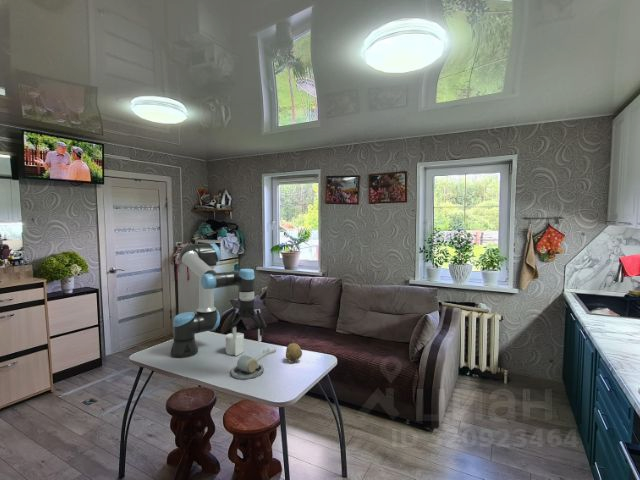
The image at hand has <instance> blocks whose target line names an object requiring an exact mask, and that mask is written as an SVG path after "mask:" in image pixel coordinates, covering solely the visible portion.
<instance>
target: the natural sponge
mask: <svg viewBox="0 0 640 480" xmlns="http://www.w3.org/2000/svg"><path fill="white" fill-rule="evenodd" d="M302 357H303V350H302V349H301V346H300V345H299V344H297V343H296V342H293V343H292V342H291V343H289V344H288V345H287V347H286V349H285V359H286V360H288V361H290V362H295V361H297V360H299V359H300V358H302Z"/></svg>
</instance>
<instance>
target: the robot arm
mask: <svg viewBox="0 0 640 480" xmlns="http://www.w3.org/2000/svg"><path fill="white" fill-rule="evenodd" d="M178 258H179V261H180V263H181V264H182V265H183V266H184V267H188V268H189V269H190V270H191V272H193V273H194V274H196V276H198V280H199V281H198V284H199V285H198V289H199V290H198V291H199V293H198V301H199V302H198V303H199V304H198V308H196V313H195V312H193V311H187V312H186V311H185V312H181V313H178V314H176V315H175V316H174V318H173V323H172V326H173V328H172V329H173V330H172V334H173V343H172V345H171V348H170V353H169V354H170V357H172V358H176V359H184V358H190V357H194V356H195V355H196V354H198V352H199V346H198V344H197V342H196V337H195V335H196V334H200V333H205V332H211V331H213V330H214V331H215V330H216V329H217V328H218V327H219V326H220V322H221V314H220V312H219V311H218V309H217V308H216V307H215V306H214V305H215V301H214V300H215V289H220V288H227V287H235V286H237V287H239V290H238V291H239V294H238V295H239V297H238V298H239V304H238V305H239V308H238V307H234V309H233V310H232V314H231V316H230V318H229V320H228V323H227V324H226V326H227V327H230V333H231V334H233V341H234V340H236V333H237V326H236V325H237V324H238V323H239V322H240V321H241V319H245V318H246V319H251V320H252V321H253V323H254V324H255V325H256V326H257V327H258V329H257V342H258V343H260V342H262V336H263V335H264V329H266V327H268V326H267V323H266V321H265V319H264V317H263V314H262V311H261V310H262V309H261V308H258V309H256V308H255V277H256V276H255V270H254V269H253V268H241V269H239V270H230V271H226V272H217V271H215V268H216V267H217V263H218V262H219V261H220V260H221V251H220V248H219V247H218V245H217V244H215V243H209V242H207V243H190V244H187V245H185V246H184V247H182V248H181V250H180V252H179V257H178ZM238 313H239V316H237V314H238ZM256 315H257V316H256ZM236 316H237V318H236ZM235 318H236V319H235Z"/></svg>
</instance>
